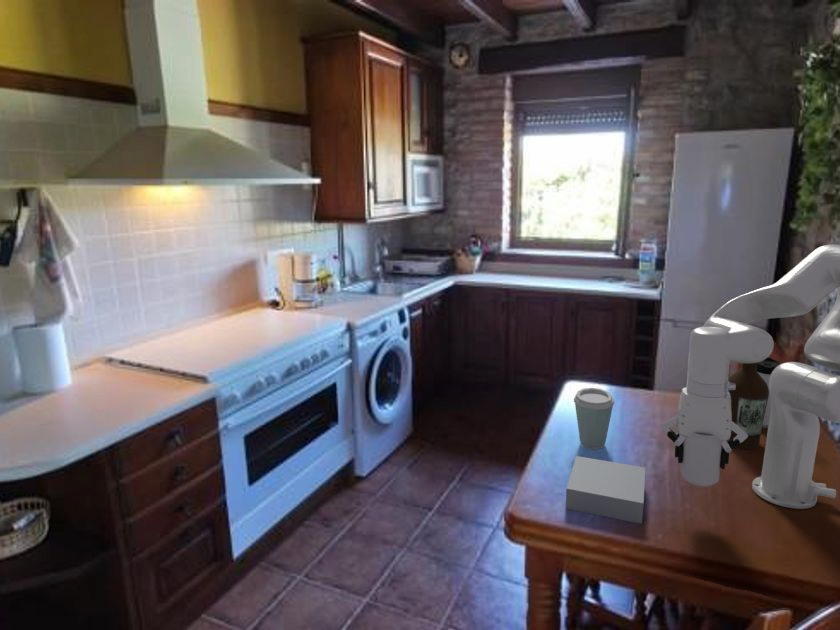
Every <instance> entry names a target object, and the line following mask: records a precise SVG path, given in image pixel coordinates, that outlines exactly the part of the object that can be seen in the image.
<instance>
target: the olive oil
mask: <svg viewBox="0 0 840 630" xmlns="http://www.w3.org/2000/svg"><path fill="white" fill-rule="evenodd" d="M756 366H757V363H741V368H740V369H738V371H737V370H736V372H734V373H733V374H731V375H730V376H728V381H729V382H730V383H734V384H736V389H735V390H729V393H730V396H731V410H732V422H734V423H735V424H736V425H738V426H739V427H740V428H742V429H743V430H744V431H746V432H747V434H748V438H746V439H745V440H744V441H743V442H741V443H740V445H739V446H737V447H735V448H736V449H741V450H752V449H757V448H758V447H759V446H760V442H761V435H762V433H763V428H762V426H763V421H764V416H765V411H766V406H767V401H768V397H769V389H768V385H767V383H766V382H765V380H764V379H763V378H762V377H761V376H760V375H759V374H758V372H757V371H756ZM737 435H738V434H736V433H735V432H734V431H732V430H731V437H730V439H729V440H731V439H732V438H734V437H736V436H737ZM729 440H728V441H729Z"/></svg>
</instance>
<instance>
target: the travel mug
mask: <svg viewBox="0 0 840 630" xmlns="http://www.w3.org/2000/svg"><path fill="white" fill-rule="evenodd" d="M780 364H781V362H780V361H778V360H776V359H773V358H772V357H771V356H768V357H767V358H766V359H765V360H763V361H760V362H757V366H756V371H757V372H758V374H759V375H760V376H761V377H762V378H763V379H764V380H765V382H766V383H767V385H768V389H769V380H770V376H771V374H772V372H773V370H774V369H775V368H776V367H777V366H779V365H780ZM769 419H770V392H769V397H768V401H767V406H766V411H765V416H764V421H763V426H762V429H768V426H769Z"/></svg>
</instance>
